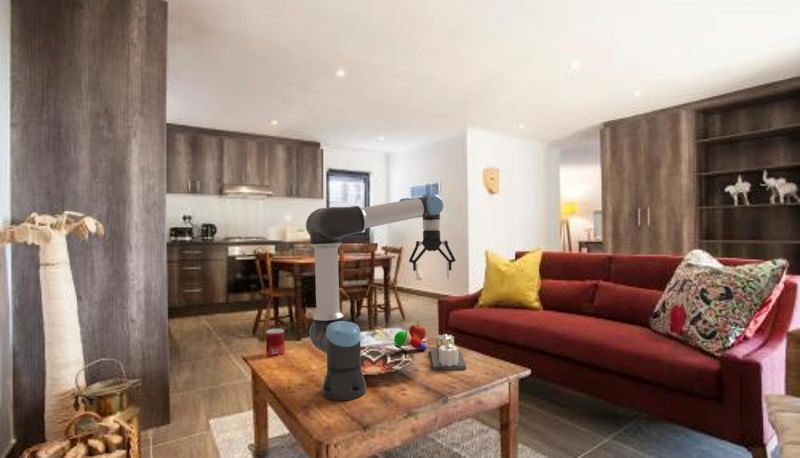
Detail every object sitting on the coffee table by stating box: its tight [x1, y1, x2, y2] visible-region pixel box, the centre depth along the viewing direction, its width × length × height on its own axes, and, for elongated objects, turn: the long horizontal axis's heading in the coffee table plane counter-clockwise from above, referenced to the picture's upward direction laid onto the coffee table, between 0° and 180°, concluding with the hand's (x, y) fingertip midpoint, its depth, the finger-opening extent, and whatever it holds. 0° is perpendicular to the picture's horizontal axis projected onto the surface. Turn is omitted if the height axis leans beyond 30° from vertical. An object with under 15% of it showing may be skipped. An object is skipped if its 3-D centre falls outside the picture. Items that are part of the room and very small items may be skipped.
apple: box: [408, 323, 427, 342], centre depth 202 cm, size 8×8×10 cm
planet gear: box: [439, 345, 459, 366], centre depth 165 cm, size 8×8×6 cm
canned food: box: [265, 328, 285, 357], centre depth 185 cm, size 8×8×11 cm
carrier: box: [430, 333, 467, 371], centre depth 173 cm, size 13×25×8 cm, turn 178°
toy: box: [393, 330, 428, 353], centre depth 186 cm, size 8×8×15 cm
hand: (432, 278), depth 177 cm, fingers open, 13 cm apart
